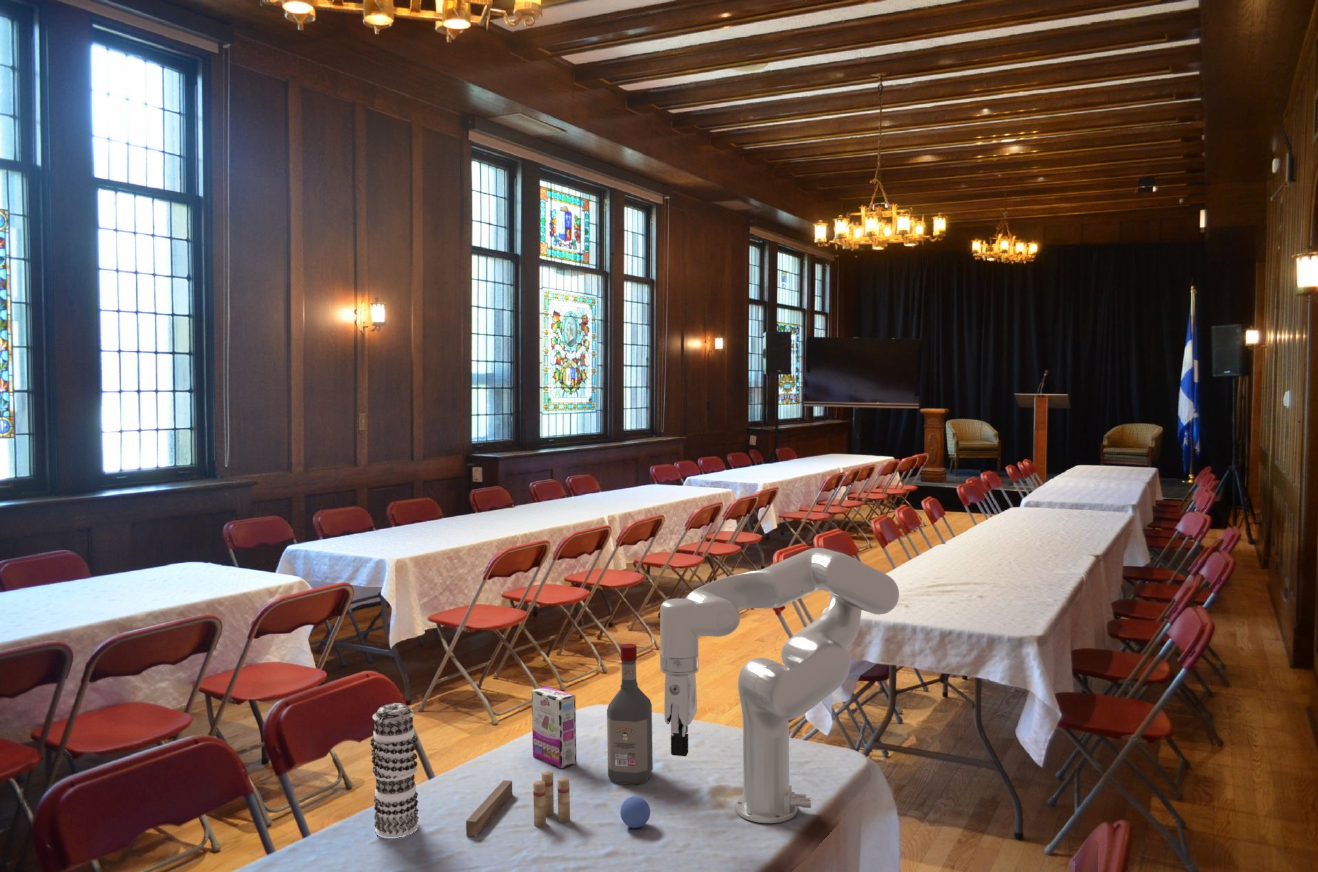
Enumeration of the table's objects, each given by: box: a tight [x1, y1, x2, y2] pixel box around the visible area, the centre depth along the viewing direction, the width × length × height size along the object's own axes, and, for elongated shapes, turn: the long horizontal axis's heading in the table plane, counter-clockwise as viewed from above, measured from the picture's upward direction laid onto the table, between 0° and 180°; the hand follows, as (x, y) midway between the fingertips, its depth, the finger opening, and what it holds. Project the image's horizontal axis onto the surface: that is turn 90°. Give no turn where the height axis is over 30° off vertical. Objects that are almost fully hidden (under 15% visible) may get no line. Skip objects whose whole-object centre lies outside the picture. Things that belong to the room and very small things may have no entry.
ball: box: [619, 795, 651, 829], centre depth 196 cm, size 6×6×6 cm
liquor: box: [606, 643, 654, 786], centre depth 220 cm, size 9×9×30 cm
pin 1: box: [532, 780, 547, 828], centre depth 198 cm, size 2×2×8 cm
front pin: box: [556, 776, 571, 824], centre depth 199 cm, size 2×2×8 cm
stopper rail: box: [465, 779, 513, 837], centre depth 203 cm, size 2×20×3 cm, turn 168°
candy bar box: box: [531, 685, 577, 769], centre depth 231 cm, size 11×5×16 cm, turn 45°
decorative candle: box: [370, 702, 420, 837], centre depth 196 cm, size 9×9×25 cm
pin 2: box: [541, 770, 555, 817], centre depth 202 cm, size 2×2×8 cm
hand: (679, 753), depth 193 cm, fingers closed
